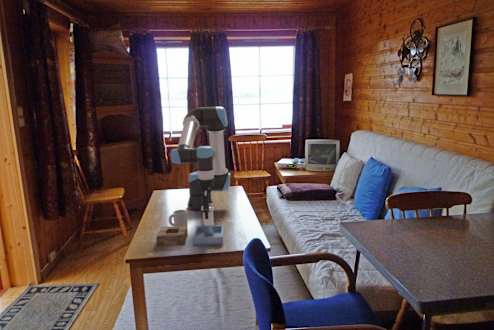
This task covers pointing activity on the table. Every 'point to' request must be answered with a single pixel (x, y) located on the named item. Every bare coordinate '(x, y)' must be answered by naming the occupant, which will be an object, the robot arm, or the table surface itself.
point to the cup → (179, 218)
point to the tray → (201, 240)
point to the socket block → (172, 236)
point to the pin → (210, 228)
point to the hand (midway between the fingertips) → (208, 220)
